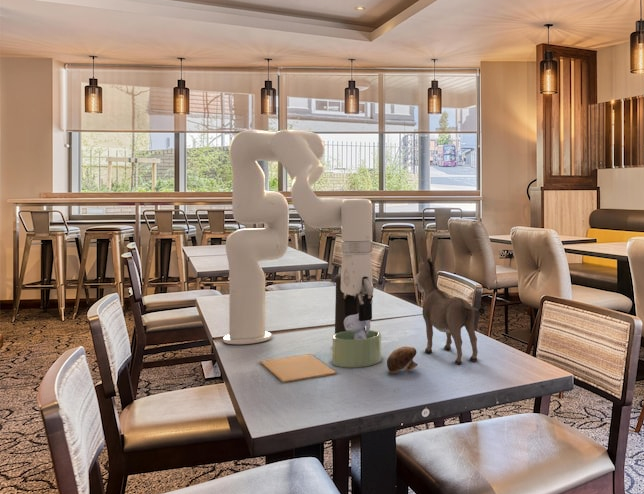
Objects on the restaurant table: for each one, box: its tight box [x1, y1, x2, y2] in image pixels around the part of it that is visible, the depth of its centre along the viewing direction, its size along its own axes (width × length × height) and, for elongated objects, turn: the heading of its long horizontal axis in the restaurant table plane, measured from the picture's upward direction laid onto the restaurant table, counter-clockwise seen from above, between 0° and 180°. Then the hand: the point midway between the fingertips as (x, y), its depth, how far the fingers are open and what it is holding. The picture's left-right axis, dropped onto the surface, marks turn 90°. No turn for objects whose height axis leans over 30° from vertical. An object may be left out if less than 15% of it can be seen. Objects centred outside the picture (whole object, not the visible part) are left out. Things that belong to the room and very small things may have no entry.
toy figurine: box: [344, 313, 371, 340], centre depth 154 cm, size 7×6×12 cm
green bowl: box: [332, 329, 382, 368], centre depth 154 cm, size 12×12×6 cm
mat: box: [260, 353, 337, 384], centre depth 148 cm, size 20×12×1 cm, turn 34°
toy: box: [414, 235, 486, 365], centre depth 160 cm, size 8×34×30 cm, turn 36°
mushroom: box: [386, 346, 419, 374], centre depth 144 cm, size 8×8×6 cm
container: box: [333, 273, 366, 334], centre depth 169 cm, size 9×9×20 cm
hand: (357, 317), depth 154 cm, fingers open, 9 cm apart
